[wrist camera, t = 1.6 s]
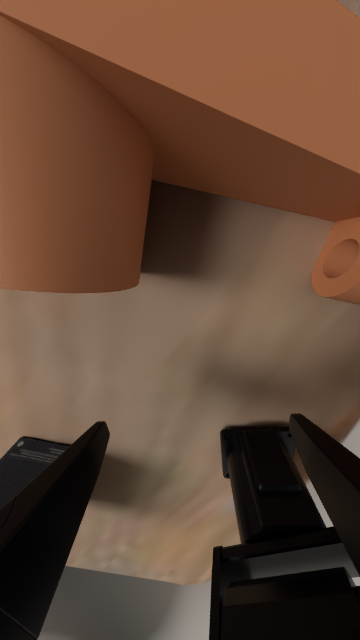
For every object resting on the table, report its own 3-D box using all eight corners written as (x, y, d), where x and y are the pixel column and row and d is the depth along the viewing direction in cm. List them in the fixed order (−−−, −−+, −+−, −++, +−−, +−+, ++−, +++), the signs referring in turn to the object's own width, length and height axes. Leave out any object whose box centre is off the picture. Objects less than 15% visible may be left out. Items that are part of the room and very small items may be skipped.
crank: (39, 251, 12) (-195, 248, 5) (28, 93, 9) (-591, -509, 2) (319, 312, 13) (503, 399, 5) (389, 178, 10) (1032, -63, 2)
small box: (17, 433, 19) (-170, 627, 9) (77, 444, 19) (-45, 649, 9) (30, 489, 23) (-92, 669, 13) (80, 499, 23) (-4, 684, 13)
